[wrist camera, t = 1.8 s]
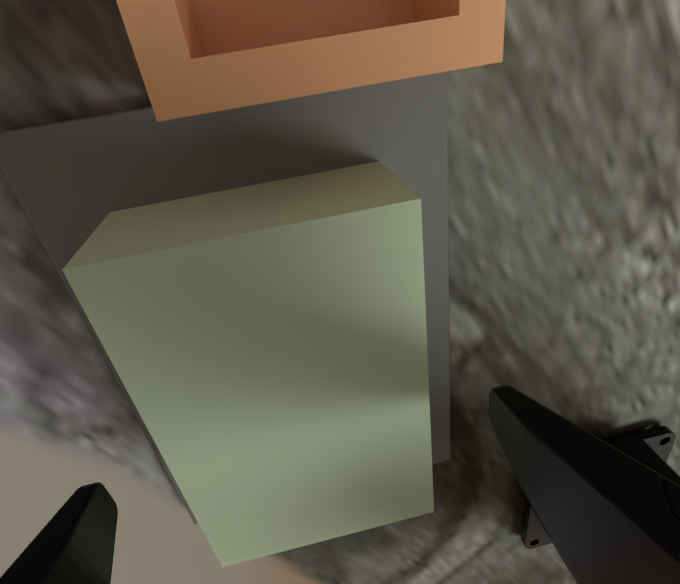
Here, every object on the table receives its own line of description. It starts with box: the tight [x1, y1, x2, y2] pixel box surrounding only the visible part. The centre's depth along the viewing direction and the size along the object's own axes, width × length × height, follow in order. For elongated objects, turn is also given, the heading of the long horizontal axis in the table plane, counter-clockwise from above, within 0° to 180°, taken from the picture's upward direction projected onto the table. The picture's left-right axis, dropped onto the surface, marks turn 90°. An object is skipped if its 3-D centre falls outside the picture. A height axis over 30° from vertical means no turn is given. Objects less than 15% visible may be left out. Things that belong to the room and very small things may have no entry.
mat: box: [0, 71, 450, 524], centre depth 13 cm, size 14×10×1 cm
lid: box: [62, 161, 434, 567], centre depth 12 cm, size 10×6×3 cm, turn 8°
